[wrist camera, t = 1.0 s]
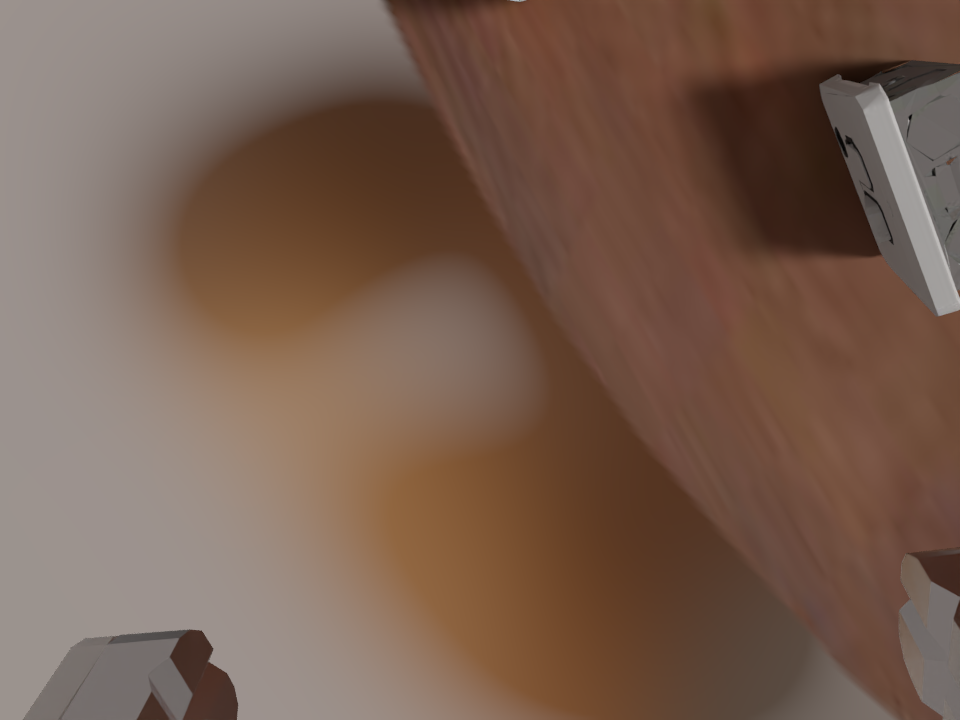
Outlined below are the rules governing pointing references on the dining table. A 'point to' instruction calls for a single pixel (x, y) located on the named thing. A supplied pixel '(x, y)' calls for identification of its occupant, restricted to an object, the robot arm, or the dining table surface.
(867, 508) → the dining table surface
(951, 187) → the electrical switch
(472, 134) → the dining table surface
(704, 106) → the dining table surface
